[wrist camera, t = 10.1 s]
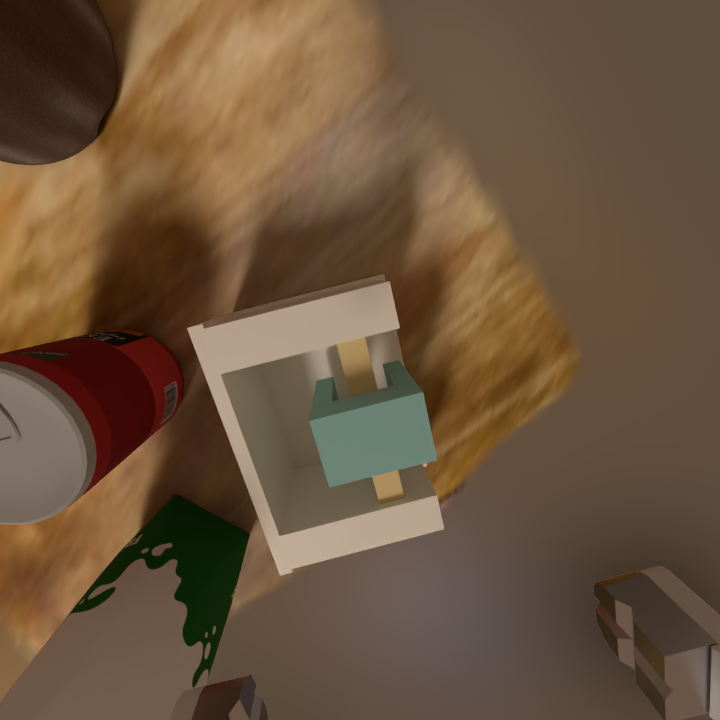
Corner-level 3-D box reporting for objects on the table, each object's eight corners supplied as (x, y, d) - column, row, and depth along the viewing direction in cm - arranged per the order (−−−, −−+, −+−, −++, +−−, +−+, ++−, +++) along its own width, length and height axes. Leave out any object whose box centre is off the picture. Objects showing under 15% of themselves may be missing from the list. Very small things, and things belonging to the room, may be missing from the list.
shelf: (232, 312, 25) (186, 327, 18) (382, 273, 25) (403, 272, 18) (294, 496, 29) (280, 575, 21) (425, 462, 29) (457, 529, 22)
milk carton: (171, 479, 28) (-194, 932, 9) (266, 532, 30) (137, 1005, 10) (118, 555, 29) (-302, 1095, 10) (212, 601, 31) (9, 1137, 12)
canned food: (147, 308, 25) (5, 332, 14) (208, 400, 27) (124, 483, 16) (56, 356, 25) (-148, 414, 15) (123, 444, 27) (-15, 552, 16)
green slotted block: (316, 380, 24) (309, 420, 18) (398, 359, 24) (423, 392, 18) (331, 431, 25) (329, 487, 19) (409, 411, 25) (437, 460, 19)
